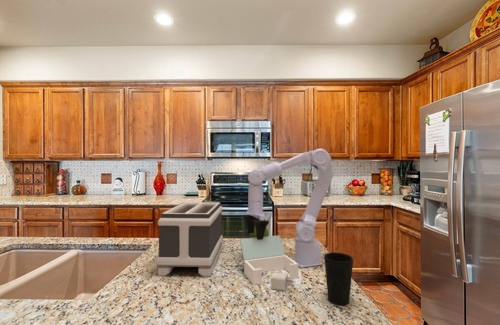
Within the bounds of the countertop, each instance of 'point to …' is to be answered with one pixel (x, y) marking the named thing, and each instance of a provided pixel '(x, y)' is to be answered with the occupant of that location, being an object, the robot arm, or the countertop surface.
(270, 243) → the cover
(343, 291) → the cup
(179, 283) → the countertop surface
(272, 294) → the countertop surface
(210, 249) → the toaster
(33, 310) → the countertop surface
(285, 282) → the usb wall charger
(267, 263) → the c-shaped bracket
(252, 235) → the olive green rounded lump
